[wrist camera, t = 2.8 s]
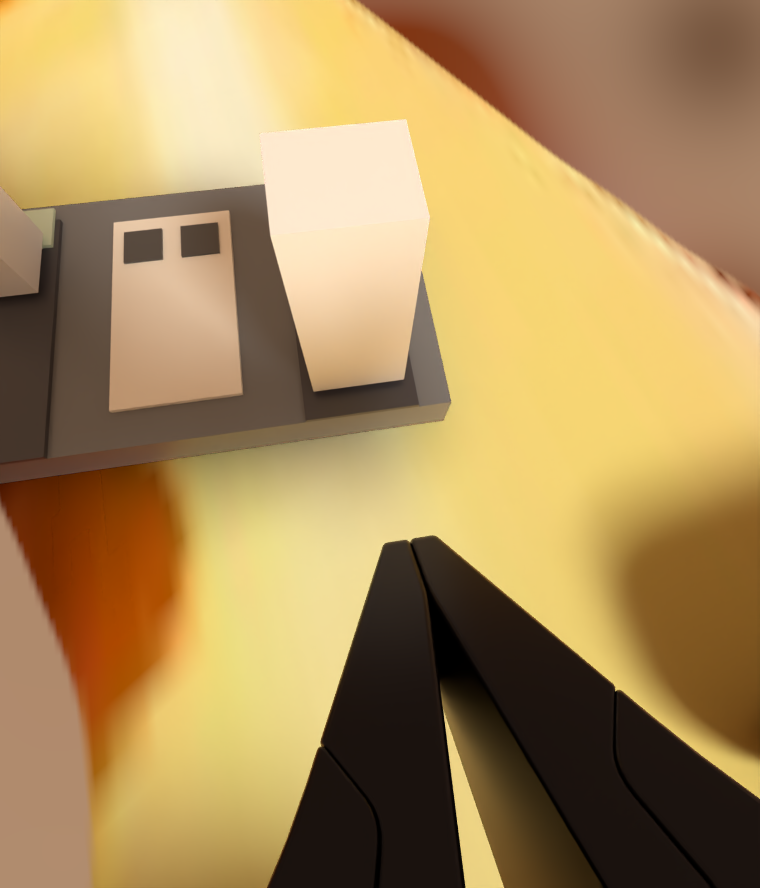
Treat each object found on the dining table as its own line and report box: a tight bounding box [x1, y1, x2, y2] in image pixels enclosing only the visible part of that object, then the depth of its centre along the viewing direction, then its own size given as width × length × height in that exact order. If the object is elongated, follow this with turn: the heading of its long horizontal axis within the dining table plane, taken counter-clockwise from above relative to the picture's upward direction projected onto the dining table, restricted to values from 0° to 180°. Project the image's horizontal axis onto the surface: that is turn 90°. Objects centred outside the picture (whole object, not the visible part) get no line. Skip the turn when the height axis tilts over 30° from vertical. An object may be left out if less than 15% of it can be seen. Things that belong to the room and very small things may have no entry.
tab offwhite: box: [260, 119, 430, 392], centre depth 14 cm, size 3×4×8 cm
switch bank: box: [0, 184, 451, 484], centre depth 20 cm, size 12×21×2 cm, turn 99°
